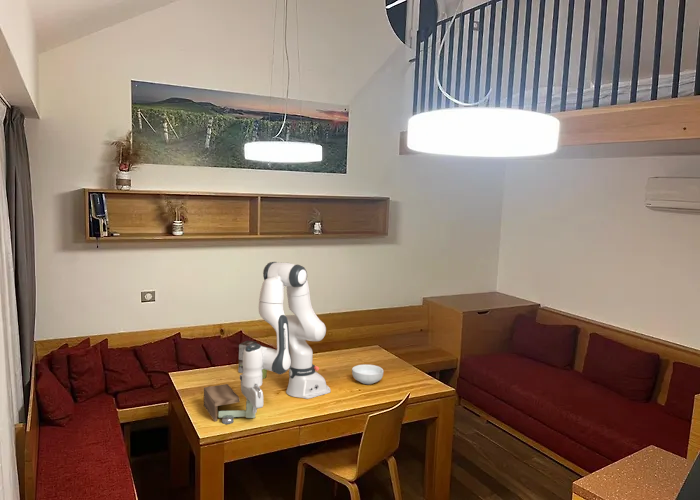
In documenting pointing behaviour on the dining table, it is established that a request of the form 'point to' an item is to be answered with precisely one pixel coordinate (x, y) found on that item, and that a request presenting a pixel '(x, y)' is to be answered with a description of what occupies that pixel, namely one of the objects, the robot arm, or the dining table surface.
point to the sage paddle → (240, 412)
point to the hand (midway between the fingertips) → (251, 410)
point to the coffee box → (241, 351)
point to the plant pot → (264, 373)
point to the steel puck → (227, 419)
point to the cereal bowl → (367, 373)
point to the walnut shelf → (218, 398)
